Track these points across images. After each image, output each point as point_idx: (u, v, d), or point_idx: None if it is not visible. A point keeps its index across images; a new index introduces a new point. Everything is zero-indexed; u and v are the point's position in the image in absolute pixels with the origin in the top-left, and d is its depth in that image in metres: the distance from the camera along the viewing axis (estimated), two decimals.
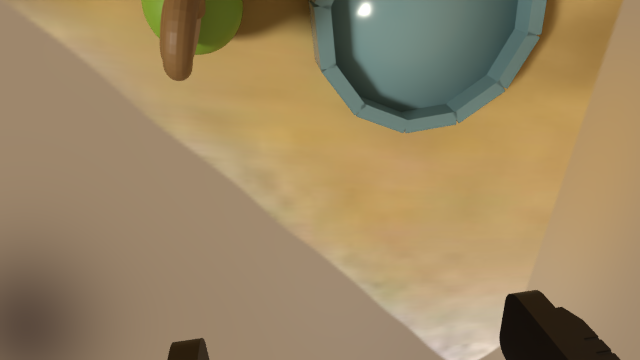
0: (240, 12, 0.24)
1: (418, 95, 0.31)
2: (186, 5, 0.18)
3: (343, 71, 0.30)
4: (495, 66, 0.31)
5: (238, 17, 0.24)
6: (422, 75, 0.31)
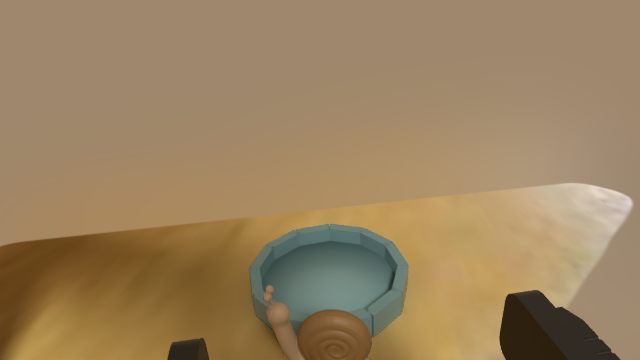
0: None
1: (382, 271, 0.43)
2: (310, 315, 0.26)
3: None
4: (353, 240, 0.48)
5: None
6: (367, 273, 0.43)
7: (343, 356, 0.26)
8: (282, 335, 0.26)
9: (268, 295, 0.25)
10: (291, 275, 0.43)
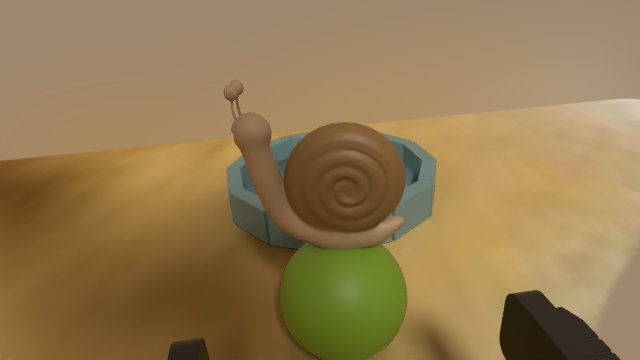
0: None
1: None
2: None
3: None
4: None
5: None
6: None
7: (359, 199, 0.15)
8: (258, 167, 0.16)
9: (233, 86, 0.14)
10: None
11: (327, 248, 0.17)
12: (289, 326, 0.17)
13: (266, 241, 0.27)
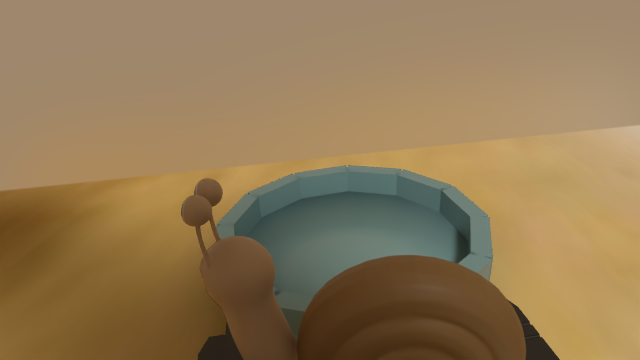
0: None
1: (440, 231, 0.26)
2: (335, 276, 0.09)
3: None
4: (385, 188, 0.30)
5: None
6: (415, 233, 0.26)
7: None
8: (252, 337, 0.08)
9: (199, 200, 0.07)
10: (288, 239, 0.26)
11: None
12: None
13: None
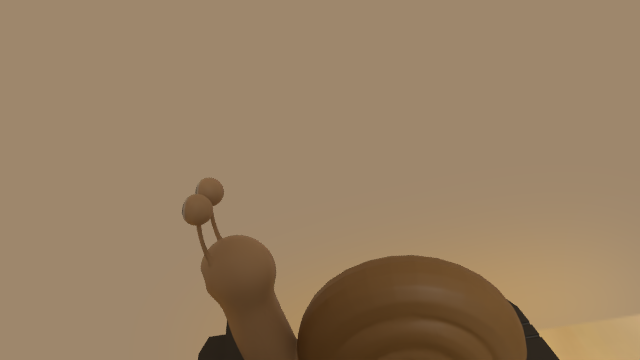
0: None
1: None
2: (336, 277, 0.09)
3: None
4: None
5: None
6: None
7: None
8: (252, 336, 0.08)
9: (200, 198, 0.07)
10: None
11: None
12: None
13: None
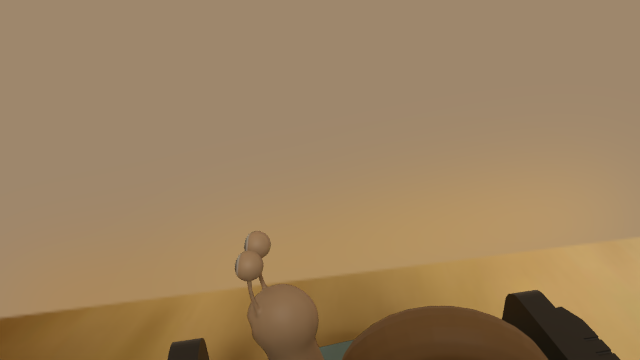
0: None
1: None
2: (375, 324, 0.09)
3: None
4: None
5: None
6: None
7: None
8: None
9: (252, 256, 0.08)
10: None
11: None
12: None
13: None
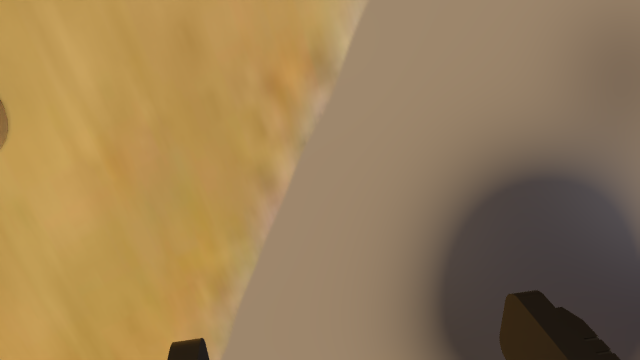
0: None
1: None
2: None
3: None
4: None
5: None
6: None
7: None
8: None
9: None
10: None
11: None
12: None
13: None
